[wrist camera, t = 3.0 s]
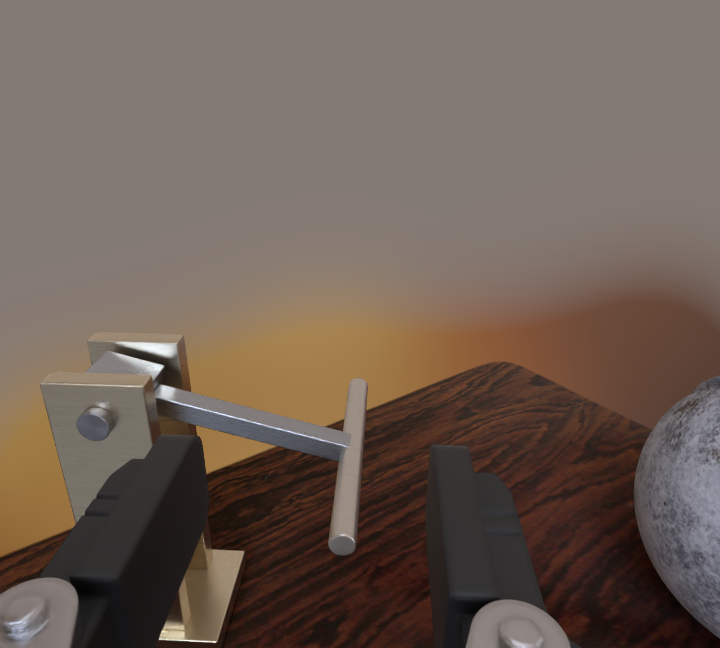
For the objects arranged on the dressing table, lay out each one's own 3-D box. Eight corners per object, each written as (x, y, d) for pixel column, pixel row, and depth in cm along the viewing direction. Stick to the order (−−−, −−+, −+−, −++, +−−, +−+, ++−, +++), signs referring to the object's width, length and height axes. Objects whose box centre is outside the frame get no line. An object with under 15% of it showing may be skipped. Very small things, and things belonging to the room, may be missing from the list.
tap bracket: (246, 564, 34) (223, 331, 28) (219, 658, 29) (182, 393, 22) (118, 558, 35) (66, 326, 28) (67, 650, 29) (-13, 387, 23)
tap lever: (361, 405, 33) (373, 370, 32) (347, 571, 22) (364, 526, 21) (143, 347, 32) (148, 310, 31) (14, 490, 21) (14, 439, 20)
